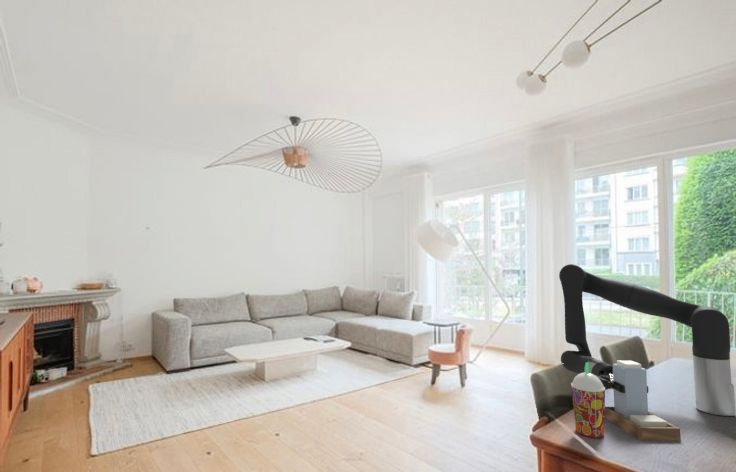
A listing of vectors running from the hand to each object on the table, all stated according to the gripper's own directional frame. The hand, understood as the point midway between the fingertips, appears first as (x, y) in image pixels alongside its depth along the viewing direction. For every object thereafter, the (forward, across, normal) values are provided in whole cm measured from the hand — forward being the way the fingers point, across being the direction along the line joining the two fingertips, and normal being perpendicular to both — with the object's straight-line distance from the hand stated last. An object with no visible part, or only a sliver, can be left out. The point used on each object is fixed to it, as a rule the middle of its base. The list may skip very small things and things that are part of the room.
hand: (635, 389), depth 113 cm
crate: (+1, 0, +11) cm, 11 cm away
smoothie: (+5, -16, +11) cm, 20 cm away
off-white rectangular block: (+5, 0, +10) cm, 11 cm away
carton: (-2, 0, +9) cm, 9 cm away
